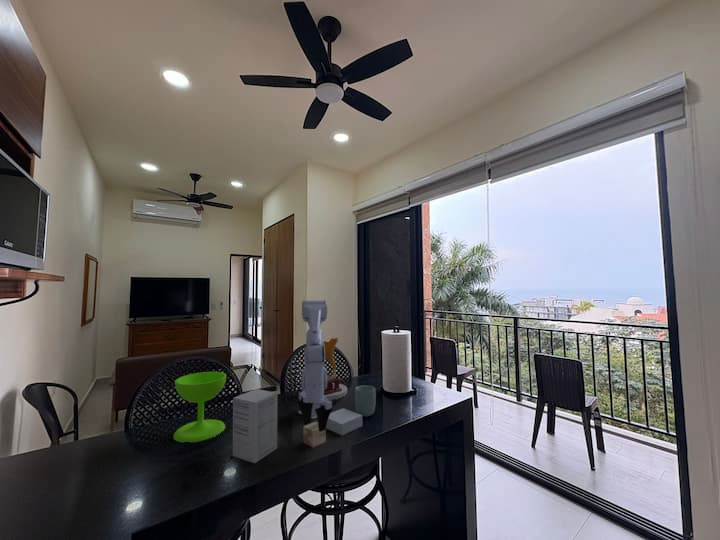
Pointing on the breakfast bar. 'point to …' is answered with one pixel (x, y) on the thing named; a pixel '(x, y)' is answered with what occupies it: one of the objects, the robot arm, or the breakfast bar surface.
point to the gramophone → (333, 386)
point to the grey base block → (344, 421)
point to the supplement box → (254, 425)
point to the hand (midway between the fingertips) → (314, 426)
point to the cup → (365, 400)
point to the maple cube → (313, 435)
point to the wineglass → (200, 404)
